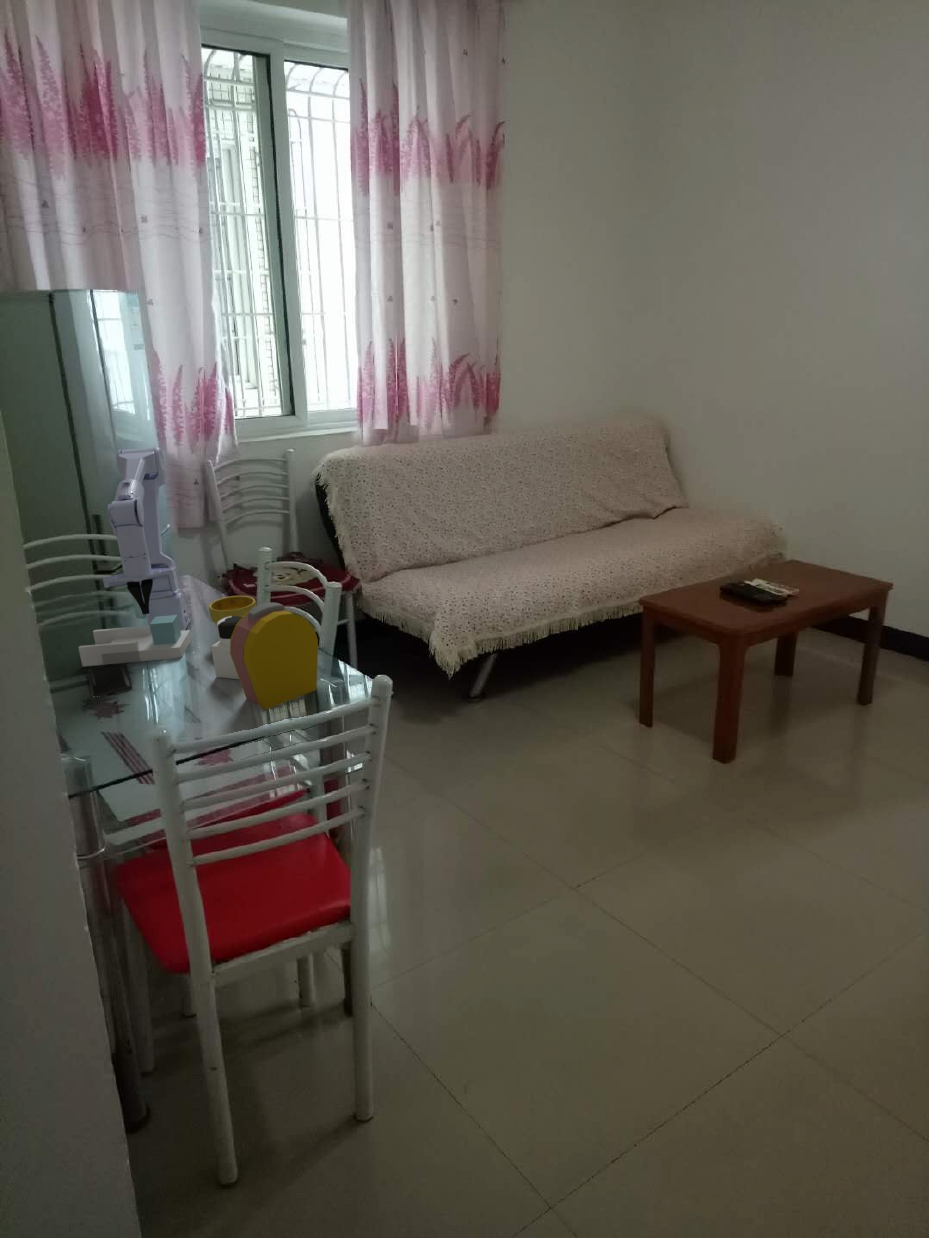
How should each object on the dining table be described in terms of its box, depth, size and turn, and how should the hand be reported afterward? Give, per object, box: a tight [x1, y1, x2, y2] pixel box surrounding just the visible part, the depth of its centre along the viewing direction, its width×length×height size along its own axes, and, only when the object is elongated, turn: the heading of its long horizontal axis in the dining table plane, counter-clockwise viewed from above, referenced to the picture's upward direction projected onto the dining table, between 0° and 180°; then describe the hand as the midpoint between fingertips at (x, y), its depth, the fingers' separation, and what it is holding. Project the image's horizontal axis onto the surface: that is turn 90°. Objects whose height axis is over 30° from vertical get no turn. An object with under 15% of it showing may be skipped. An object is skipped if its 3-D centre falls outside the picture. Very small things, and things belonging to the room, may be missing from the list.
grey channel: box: [78, 624, 193, 668], centre depth 192 cm, size 22×11×4 cm, turn 95°
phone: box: [86, 663, 133, 698], centre depth 178 cm, size 8×1×15 cm
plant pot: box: [208, 595, 257, 628], centre depth 193 cm, size 10×10×10 cm
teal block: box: [150, 615, 181, 645], centre depth 191 cm, size 5×5×5 cm
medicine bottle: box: [210, 616, 242, 680], centre depth 176 cm, size 7×7×12 cm
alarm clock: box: [230, 601, 319, 711], centre depth 164 cm, size 15×8×18 cm, turn 133°
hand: (146, 612), depth 189 cm, fingers closed
